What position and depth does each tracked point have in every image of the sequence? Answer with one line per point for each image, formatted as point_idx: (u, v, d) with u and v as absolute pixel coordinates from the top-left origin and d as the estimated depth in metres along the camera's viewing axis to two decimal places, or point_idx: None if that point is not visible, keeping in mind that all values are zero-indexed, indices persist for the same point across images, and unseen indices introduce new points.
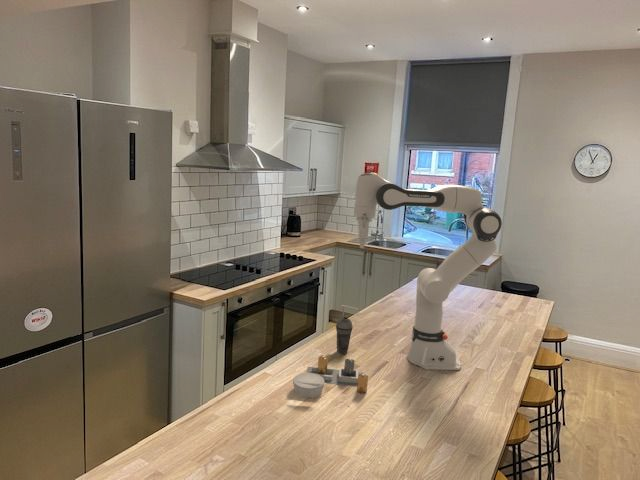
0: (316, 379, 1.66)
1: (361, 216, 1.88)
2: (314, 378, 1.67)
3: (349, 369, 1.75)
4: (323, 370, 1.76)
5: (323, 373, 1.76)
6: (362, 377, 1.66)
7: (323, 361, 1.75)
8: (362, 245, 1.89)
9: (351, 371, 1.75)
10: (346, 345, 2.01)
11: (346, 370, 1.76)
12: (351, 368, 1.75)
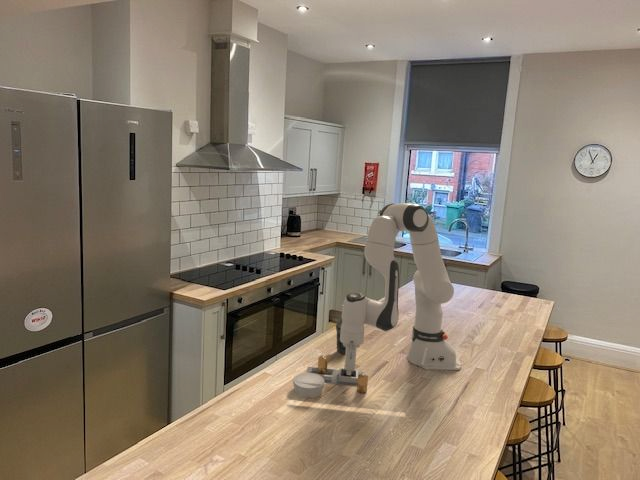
0: (316, 379, 1.66)
1: (348, 343, 1.71)
2: (314, 378, 1.67)
3: None
4: (323, 370, 1.76)
5: (323, 373, 1.76)
6: (362, 377, 1.66)
7: (323, 361, 1.75)
8: (349, 372, 1.74)
9: (351, 371, 1.75)
10: None
11: None
12: None
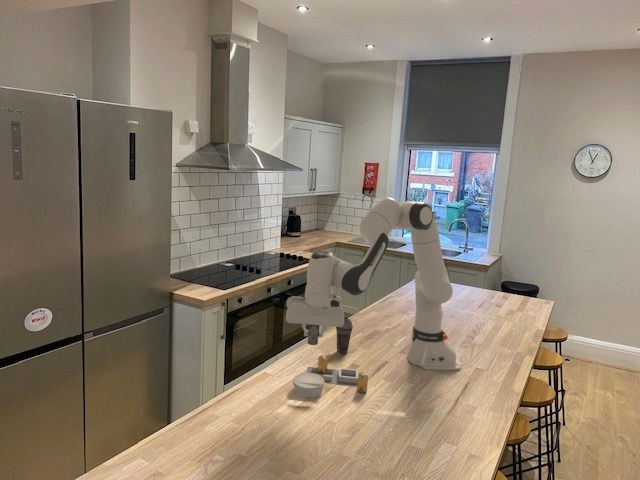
0: (316, 379, 1.66)
1: None
2: (314, 378, 1.67)
3: None
4: (323, 370, 1.76)
5: (323, 373, 1.76)
6: (362, 377, 1.66)
7: (323, 361, 1.75)
8: (304, 332, 1.64)
9: (309, 334, 1.63)
10: (346, 345, 2.01)
11: None
12: (309, 331, 1.63)
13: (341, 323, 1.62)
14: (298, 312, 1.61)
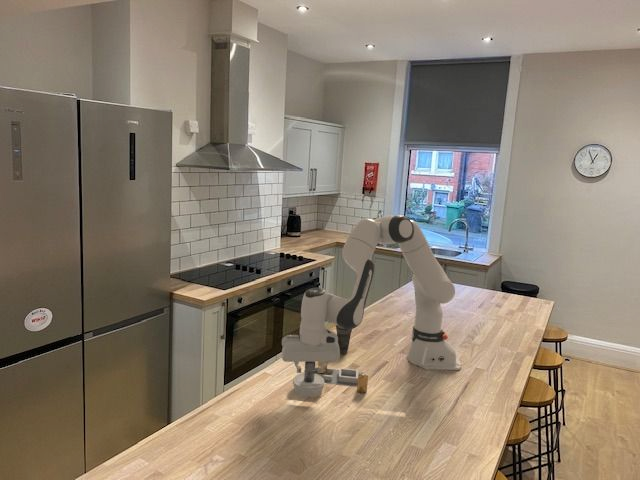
0: (316, 379, 1.66)
1: None
2: (314, 378, 1.67)
3: None
4: (323, 370, 1.76)
5: (323, 373, 1.76)
6: (362, 377, 1.66)
7: None
8: (297, 369, 1.64)
9: (305, 372, 1.64)
10: (346, 345, 2.01)
11: None
12: (305, 368, 1.64)
13: (336, 357, 1.64)
14: (295, 351, 1.61)
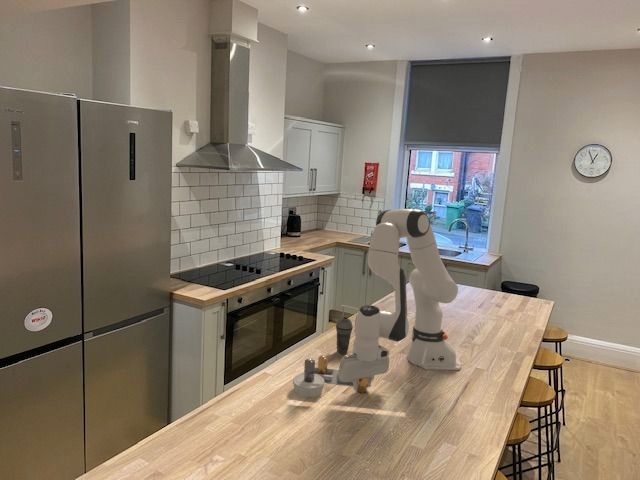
0: (316, 379, 1.66)
1: None
2: (314, 378, 1.67)
3: (304, 369, 1.64)
4: (323, 370, 1.76)
5: (323, 373, 1.76)
6: None
7: (323, 361, 1.75)
8: (355, 386, 1.66)
9: (305, 372, 1.64)
10: (346, 345, 2.01)
11: None
12: (305, 368, 1.63)
13: (386, 369, 1.70)
14: (353, 370, 1.62)
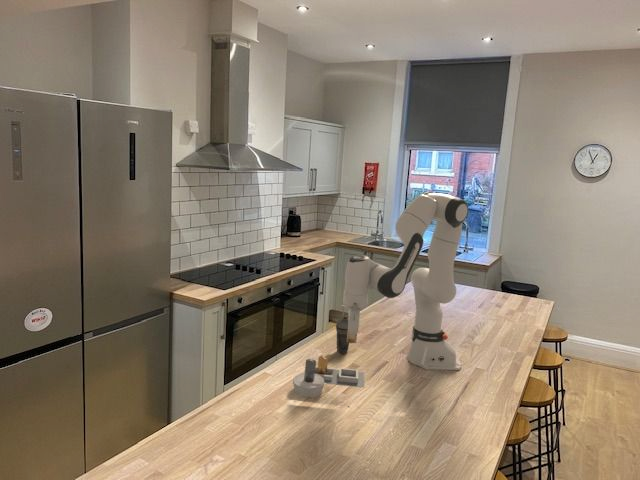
0: (316, 379, 1.66)
1: (351, 305, 1.68)
2: (314, 378, 1.67)
3: (305, 369, 1.64)
4: (323, 370, 1.76)
5: (323, 373, 1.76)
6: None
7: (323, 361, 1.75)
8: (352, 335, 1.71)
9: (306, 372, 1.63)
10: (346, 345, 2.01)
11: None
12: (306, 368, 1.63)
13: None
14: None
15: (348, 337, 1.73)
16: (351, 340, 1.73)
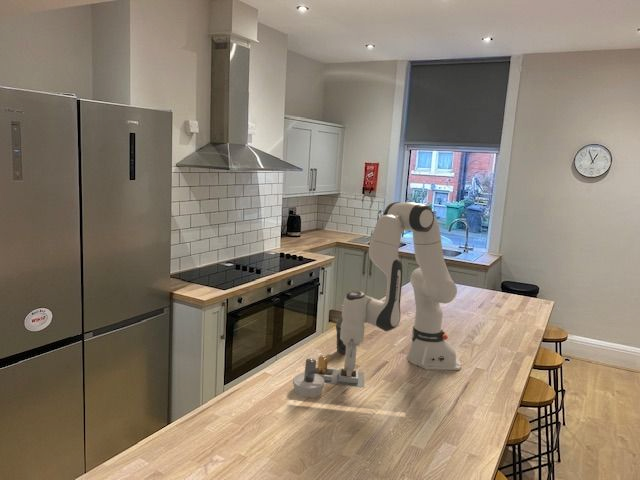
0: (316, 379, 1.66)
1: (348, 341, 1.71)
2: (314, 378, 1.67)
3: (306, 369, 1.64)
4: (323, 370, 1.76)
5: (323, 373, 1.76)
6: None
7: (323, 361, 1.75)
8: (349, 373, 1.71)
9: (307, 371, 1.64)
10: None
11: (305, 369, 1.65)
12: (307, 368, 1.63)
13: None
14: None
15: (345, 374, 1.76)
16: None
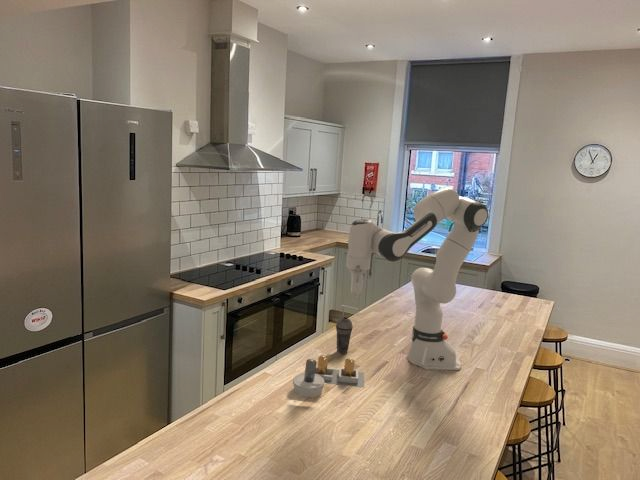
0: (316, 379, 1.66)
1: (354, 268, 1.70)
2: (314, 378, 1.67)
3: (307, 370, 1.63)
4: (323, 370, 1.76)
5: (323, 373, 1.76)
6: (351, 361, 1.75)
7: (323, 361, 1.75)
8: (355, 300, 1.71)
9: (308, 373, 1.63)
10: (346, 345, 2.01)
11: (305, 370, 1.64)
12: (308, 369, 1.63)
13: None
14: None
15: (345, 374, 1.76)
16: None
